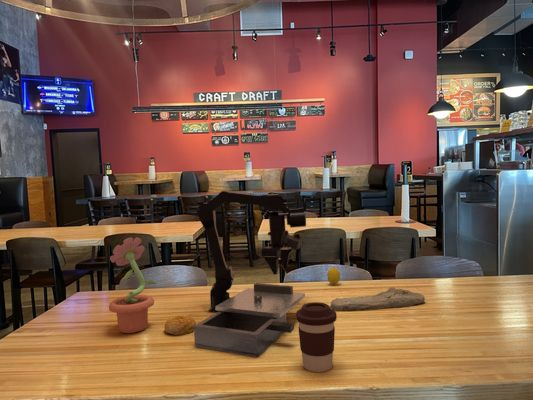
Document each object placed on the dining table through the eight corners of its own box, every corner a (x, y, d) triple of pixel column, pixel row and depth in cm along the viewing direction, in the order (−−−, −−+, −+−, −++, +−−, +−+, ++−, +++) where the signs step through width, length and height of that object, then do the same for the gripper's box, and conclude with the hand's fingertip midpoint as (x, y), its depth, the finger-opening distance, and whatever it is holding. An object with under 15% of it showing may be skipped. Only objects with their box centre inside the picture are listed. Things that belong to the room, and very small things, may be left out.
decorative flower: (146, 317, 137) (141, 232, 136) (166, 327, 127) (161, 235, 126) (103, 330, 127) (97, 238, 126) (121, 341, 117) (116, 241, 116)
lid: (215, 310, 123) (215, 298, 123) (248, 291, 143) (247, 281, 143) (279, 318, 114) (279, 305, 114) (305, 296, 134) (304, 286, 134)
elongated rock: (327, 308, 144) (335, 319, 135) (326, 295, 144) (334, 304, 134) (416, 296, 149) (430, 306, 139) (415, 283, 148) (429, 291, 138)
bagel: (203, 325, 128) (202, 311, 128) (185, 338, 118) (185, 322, 118) (176, 323, 132) (176, 309, 131) (157, 335, 121) (156, 320, 121)
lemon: (340, 286, 167) (339, 268, 167) (327, 286, 168) (326, 268, 168) (340, 283, 173) (340, 265, 172) (327, 283, 174) (327, 265, 173)
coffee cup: (294, 358, 101) (292, 301, 101) (332, 355, 102) (330, 298, 102) (301, 377, 92) (299, 314, 91) (342, 374, 92) (341, 311, 92)
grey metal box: (194, 346, 111) (193, 325, 111) (230, 322, 129) (229, 304, 129) (278, 361, 100) (278, 338, 100) (305, 332, 118) (304, 313, 118)
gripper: (288, 232, 130) (291, 278, 130) (307, 224, 147) (310, 266, 147) (258, 232, 135) (261, 277, 135) (279, 225, 151) (282, 265, 152)
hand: (280, 271), depth 142 cm, fingers open, 9 cm apart
